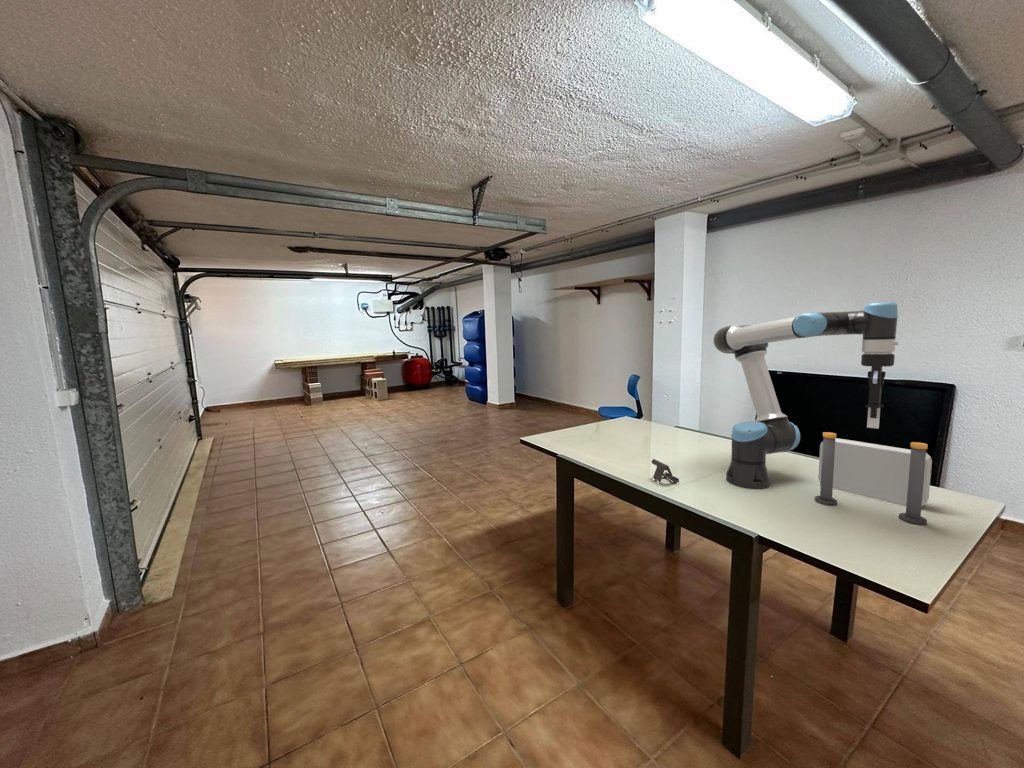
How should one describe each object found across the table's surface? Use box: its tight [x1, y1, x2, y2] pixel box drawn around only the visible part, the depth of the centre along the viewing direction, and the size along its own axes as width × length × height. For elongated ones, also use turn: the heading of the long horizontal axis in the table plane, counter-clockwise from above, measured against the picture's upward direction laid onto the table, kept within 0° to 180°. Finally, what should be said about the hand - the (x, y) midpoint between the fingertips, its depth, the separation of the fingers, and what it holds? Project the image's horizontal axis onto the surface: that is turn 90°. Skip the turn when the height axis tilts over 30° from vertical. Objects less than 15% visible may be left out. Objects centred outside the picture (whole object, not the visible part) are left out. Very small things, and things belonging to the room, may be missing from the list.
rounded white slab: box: [817, 437, 933, 507], centre depth 139 cm, size 29×8×18 cm, turn 33°
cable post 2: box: [898, 441, 929, 526], centre depth 119 cm, size 6×6×24 cm
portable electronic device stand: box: [651, 458, 680, 484], centre depth 159 cm, size 9×8×8 cm
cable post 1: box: [814, 431, 838, 507], centre depth 134 cm, size 6×6×24 cm
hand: (872, 427), depth 124 cm, fingers closed
